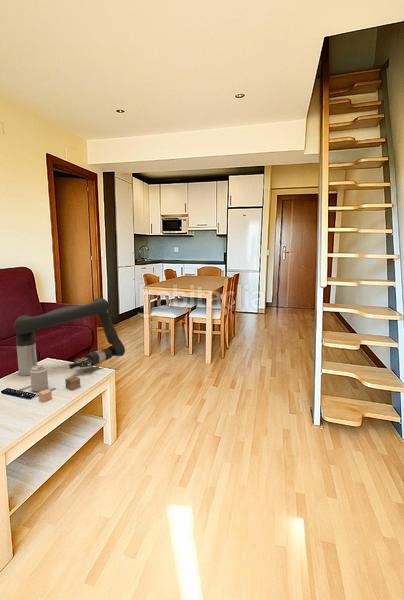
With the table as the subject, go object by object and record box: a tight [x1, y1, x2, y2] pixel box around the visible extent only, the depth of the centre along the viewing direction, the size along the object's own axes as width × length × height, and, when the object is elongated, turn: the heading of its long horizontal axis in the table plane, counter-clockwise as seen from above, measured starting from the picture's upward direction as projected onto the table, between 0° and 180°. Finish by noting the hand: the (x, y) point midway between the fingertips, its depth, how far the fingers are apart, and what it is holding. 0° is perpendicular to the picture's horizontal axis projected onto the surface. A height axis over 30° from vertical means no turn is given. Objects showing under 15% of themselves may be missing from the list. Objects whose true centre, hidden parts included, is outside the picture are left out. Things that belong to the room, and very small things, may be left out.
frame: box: [18, 384, 57, 399], centre depth 152 cm, size 14×12×1 cm
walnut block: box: [64, 375, 81, 391], centre depth 155 cm, size 5×5×5 cm
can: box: [29, 364, 49, 393], centre depth 152 cm, size 8×8×12 cm
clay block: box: [37, 388, 53, 403], centre depth 142 cm, size 4×4×4 cm
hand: (69, 366), depth 166 cm, fingers closed
